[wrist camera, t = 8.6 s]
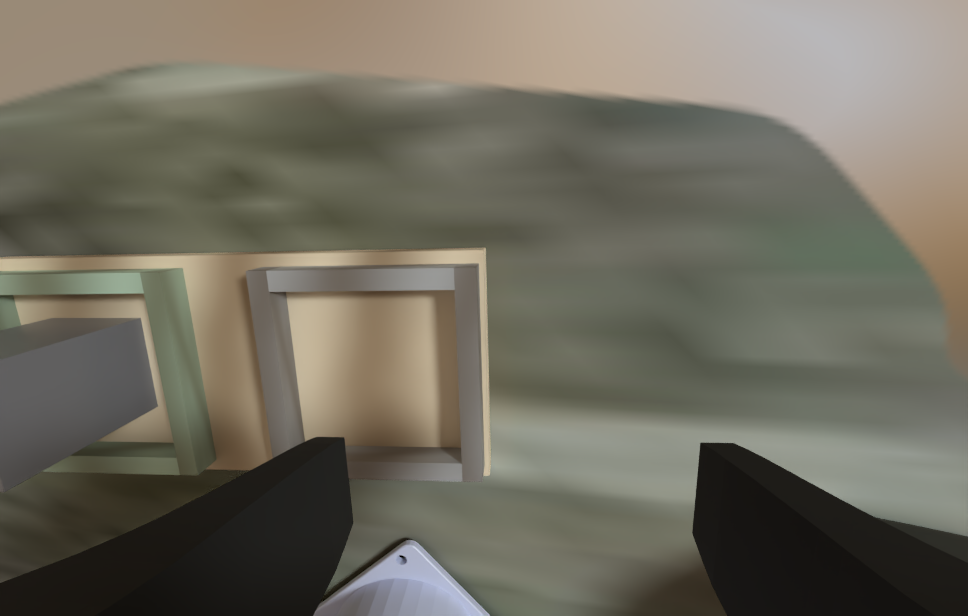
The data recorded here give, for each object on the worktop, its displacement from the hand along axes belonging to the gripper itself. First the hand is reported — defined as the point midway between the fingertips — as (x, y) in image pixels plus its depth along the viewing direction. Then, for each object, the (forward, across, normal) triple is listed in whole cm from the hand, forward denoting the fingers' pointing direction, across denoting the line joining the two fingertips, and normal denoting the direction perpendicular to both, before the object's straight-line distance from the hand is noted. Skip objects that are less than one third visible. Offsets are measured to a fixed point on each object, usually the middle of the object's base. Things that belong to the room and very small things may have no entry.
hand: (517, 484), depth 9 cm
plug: (+9, +18, +1) cm, 20 cm away
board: (+10, +12, +1) cm, 15 cm away
